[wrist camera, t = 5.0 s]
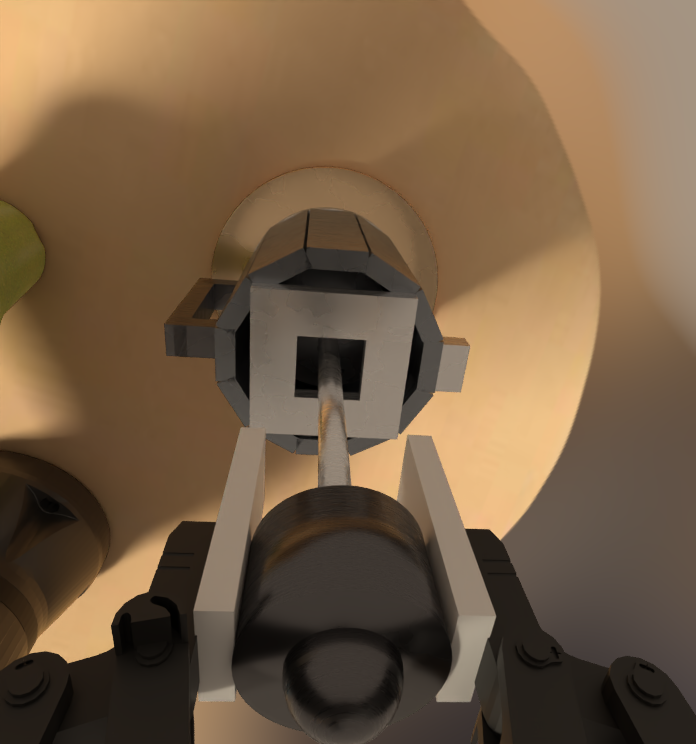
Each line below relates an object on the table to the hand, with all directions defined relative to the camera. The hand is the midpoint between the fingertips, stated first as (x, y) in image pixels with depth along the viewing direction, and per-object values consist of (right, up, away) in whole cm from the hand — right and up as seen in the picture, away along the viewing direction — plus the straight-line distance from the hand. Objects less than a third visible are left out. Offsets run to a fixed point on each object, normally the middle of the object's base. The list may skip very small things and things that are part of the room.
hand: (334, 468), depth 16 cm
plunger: (-1, +6, +12) cm, 13 cm away
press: (-1, +9, +19) cm, 21 cm away
